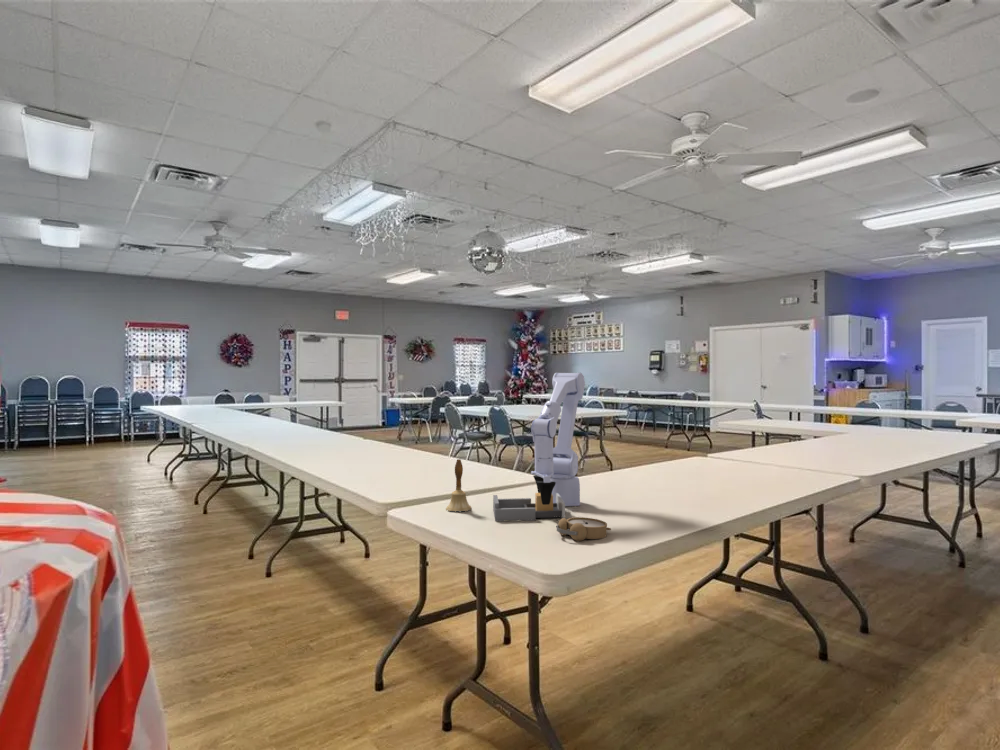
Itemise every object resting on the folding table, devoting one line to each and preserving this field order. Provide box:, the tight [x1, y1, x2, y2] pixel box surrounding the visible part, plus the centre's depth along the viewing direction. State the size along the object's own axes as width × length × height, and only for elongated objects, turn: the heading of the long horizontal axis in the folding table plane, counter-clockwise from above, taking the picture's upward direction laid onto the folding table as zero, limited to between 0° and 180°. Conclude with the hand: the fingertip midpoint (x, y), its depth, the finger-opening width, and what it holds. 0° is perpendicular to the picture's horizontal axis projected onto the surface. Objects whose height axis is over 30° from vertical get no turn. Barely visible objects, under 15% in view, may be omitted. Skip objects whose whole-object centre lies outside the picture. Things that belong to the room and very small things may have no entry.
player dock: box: [492, 494, 536, 522], centre depth 174 cm, size 12×13×5 cm
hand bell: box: [445, 458, 473, 513], centre depth 182 cm, size 8×8×16 cm
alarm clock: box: [555, 516, 612, 542], centre depth 153 cm, size 11×5×15 cm
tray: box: [523, 493, 566, 519], centre depth 175 cm, size 11×13×5 cm
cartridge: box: [534, 492, 553, 511], centre depth 175 cm, size 5×4×5 cm
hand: (544, 501), depth 175 cm, fingers open, 7 cm apart
